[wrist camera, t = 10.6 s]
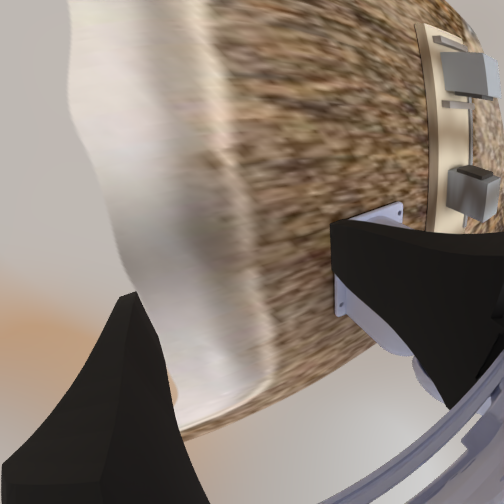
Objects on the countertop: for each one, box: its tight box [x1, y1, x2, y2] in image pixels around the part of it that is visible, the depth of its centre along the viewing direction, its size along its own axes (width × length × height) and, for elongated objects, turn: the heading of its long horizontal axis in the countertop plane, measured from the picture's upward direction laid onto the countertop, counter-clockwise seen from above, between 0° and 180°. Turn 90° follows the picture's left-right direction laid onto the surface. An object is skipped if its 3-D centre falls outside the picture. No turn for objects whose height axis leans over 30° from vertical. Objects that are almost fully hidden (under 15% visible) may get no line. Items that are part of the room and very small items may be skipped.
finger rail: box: [414, 23, 501, 234], centre depth 21 cm, size 24×8×6 cm, turn 12°
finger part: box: [440, 52, 501, 101], centre depth 17 cm, size 4×4×5 cm
